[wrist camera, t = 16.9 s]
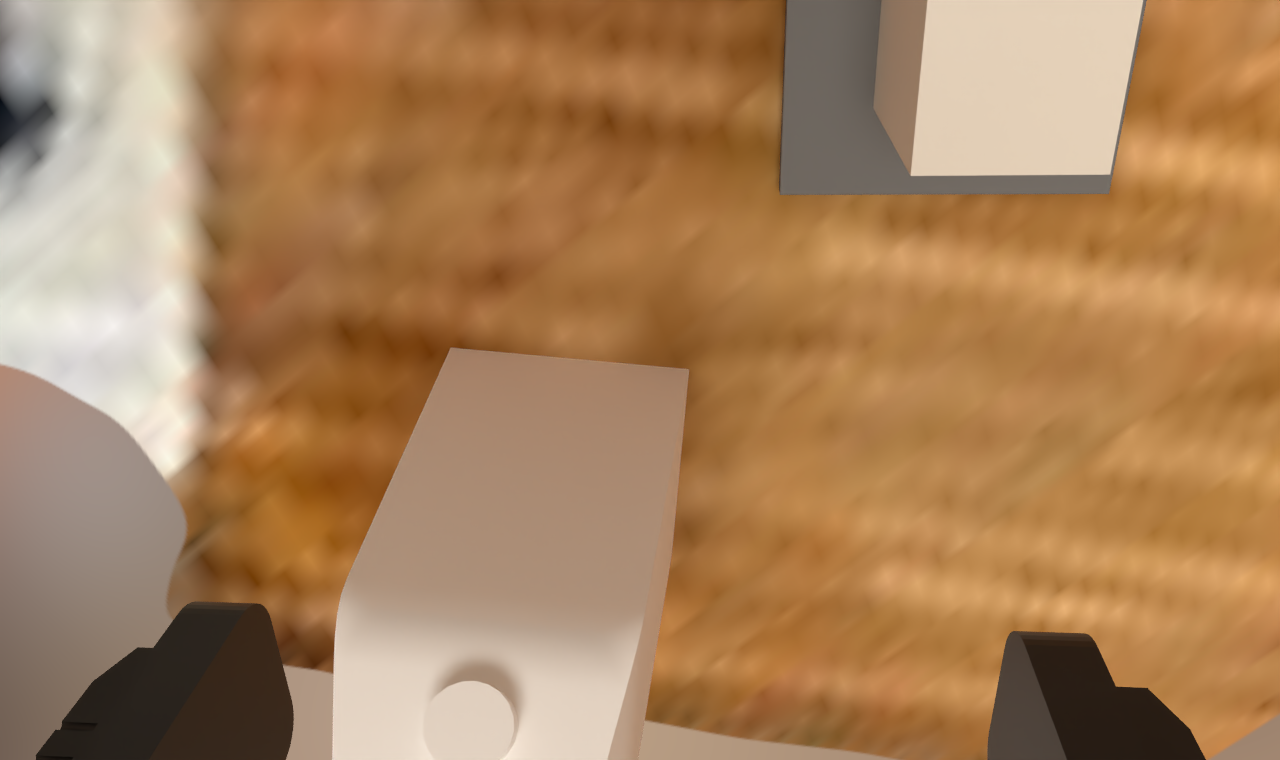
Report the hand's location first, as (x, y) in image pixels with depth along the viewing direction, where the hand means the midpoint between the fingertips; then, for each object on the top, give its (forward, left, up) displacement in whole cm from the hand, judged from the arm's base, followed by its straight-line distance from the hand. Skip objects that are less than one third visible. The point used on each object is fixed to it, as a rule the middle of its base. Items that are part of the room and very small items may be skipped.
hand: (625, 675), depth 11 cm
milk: (-15, -15, -36) cm, 42 cm away
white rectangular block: (+10, -3, -35) cm, 37 cm away
